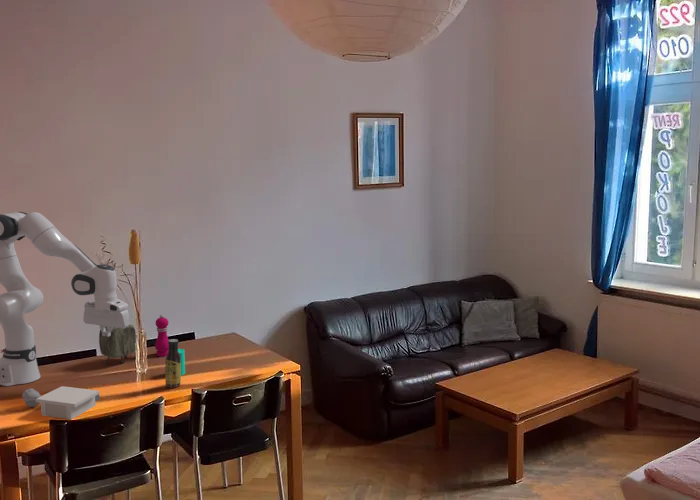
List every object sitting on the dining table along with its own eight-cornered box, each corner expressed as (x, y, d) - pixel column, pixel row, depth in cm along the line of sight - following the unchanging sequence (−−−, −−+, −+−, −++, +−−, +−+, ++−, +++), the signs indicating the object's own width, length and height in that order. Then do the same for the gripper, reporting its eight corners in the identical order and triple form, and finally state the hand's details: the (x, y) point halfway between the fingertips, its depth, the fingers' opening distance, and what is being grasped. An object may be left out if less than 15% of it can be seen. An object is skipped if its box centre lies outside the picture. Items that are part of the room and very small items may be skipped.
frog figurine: (30, 402, 260) (29, 385, 259) (45, 404, 258) (44, 387, 257) (19, 408, 254) (17, 390, 253) (34, 410, 252) (33, 392, 251)
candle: (179, 370, 299) (178, 344, 297) (187, 373, 295) (187, 347, 293) (168, 373, 294) (167, 347, 292) (176, 377, 290) (175, 350, 288)
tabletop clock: (126, 356, 318) (124, 305, 314) (138, 360, 313) (136, 308, 309) (100, 364, 306) (97, 311, 302) (112, 368, 301) (109, 314, 297)
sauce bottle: (162, 387, 278) (160, 341, 275) (171, 382, 284) (170, 337, 281) (175, 389, 275) (174, 343, 272) (184, 384, 281) (183, 339, 278)
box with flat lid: (37, 414, 248) (36, 398, 247) (62, 401, 262) (61, 386, 261) (75, 420, 244) (74, 404, 243) (99, 406, 257) (99, 390, 256)
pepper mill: (164, 351, 326) (162, 311, 323) (173, 354, 322) (172, 314, 319) (152, 355, 320) (150, 314, 317) (161, 358, 316) (160, 317, 313)
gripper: (79, 302, 276) (80, 334, 278) (122, 308, 271) (122, 340, 273) (89, 299, 282) (90, 330, 284) (131, 304, 276) (131, 336, 279)
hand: (106, 335), depth 278 cm, fingers closed
